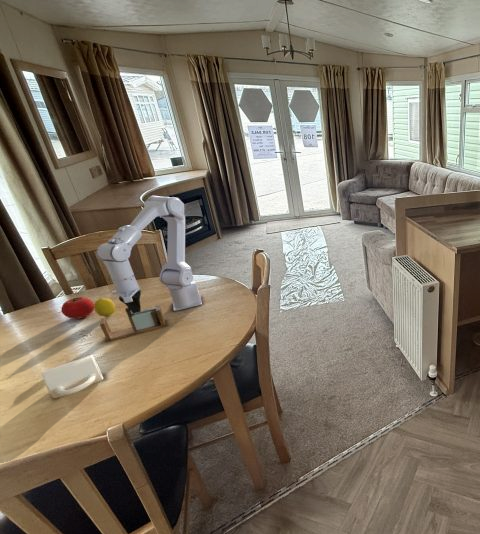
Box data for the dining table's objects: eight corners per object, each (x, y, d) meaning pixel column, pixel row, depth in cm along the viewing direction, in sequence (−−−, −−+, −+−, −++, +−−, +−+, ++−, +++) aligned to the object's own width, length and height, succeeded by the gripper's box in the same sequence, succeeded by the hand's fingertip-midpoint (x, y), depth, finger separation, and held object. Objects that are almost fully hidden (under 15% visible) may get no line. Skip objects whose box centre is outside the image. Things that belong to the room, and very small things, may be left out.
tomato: (97, 307, 135) (89, 289, 132) (98, 316, 130) (90, 298, 126) (66, 315, 130) (57, 297, 126) (65, 325, 124) (56, 306, 121)
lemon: (122, 313, 132) (114, 295, 129) (108, 320, 127) (100, 302, 124) (109, 312, 133) (101, 294, 129) (95, 319, 128) (86, 301, 124)
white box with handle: (53, 388, 96) (41, 366, 93) (101, 371, 103) (90, 350, 100) (57, 411, 89) (43, 389, 86) (107, 391, 96) (96, 369, 93)
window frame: (165, 320, 128) (159, 305, 125) (165, 326, 125) (159, 310, 122) (108, 335, 119) (101, 318, 116) (107, 341, 116) (99, 324, 113)
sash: (158, 323, 125) (150, 302, 121) (158, 325, 124) (150, 303, 120) (134, 330, 121) (124, 308, 117) (134, 331, 120) (124, 309, 116)
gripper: (109, 272, 116) (123, 306, 122) (105, 288, 106) (120, 324, 112) (135, 267, 120) (148, 300, 126) (134, 282, 110) (147, 318, 116)
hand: (136, 311), depth 119 cm, fingers closed, pressing on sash
